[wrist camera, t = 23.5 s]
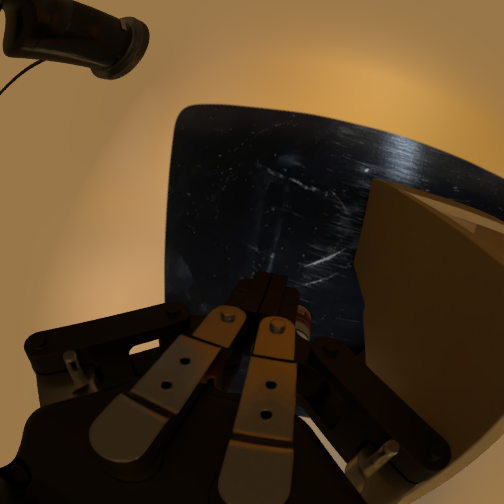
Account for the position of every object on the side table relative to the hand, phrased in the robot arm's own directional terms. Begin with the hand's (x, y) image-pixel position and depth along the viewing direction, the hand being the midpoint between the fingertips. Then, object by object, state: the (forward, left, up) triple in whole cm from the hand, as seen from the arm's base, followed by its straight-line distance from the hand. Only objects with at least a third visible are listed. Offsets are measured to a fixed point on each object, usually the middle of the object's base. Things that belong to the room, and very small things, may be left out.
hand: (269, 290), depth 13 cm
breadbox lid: (+7, +2, +1) cm, 8 cm away
